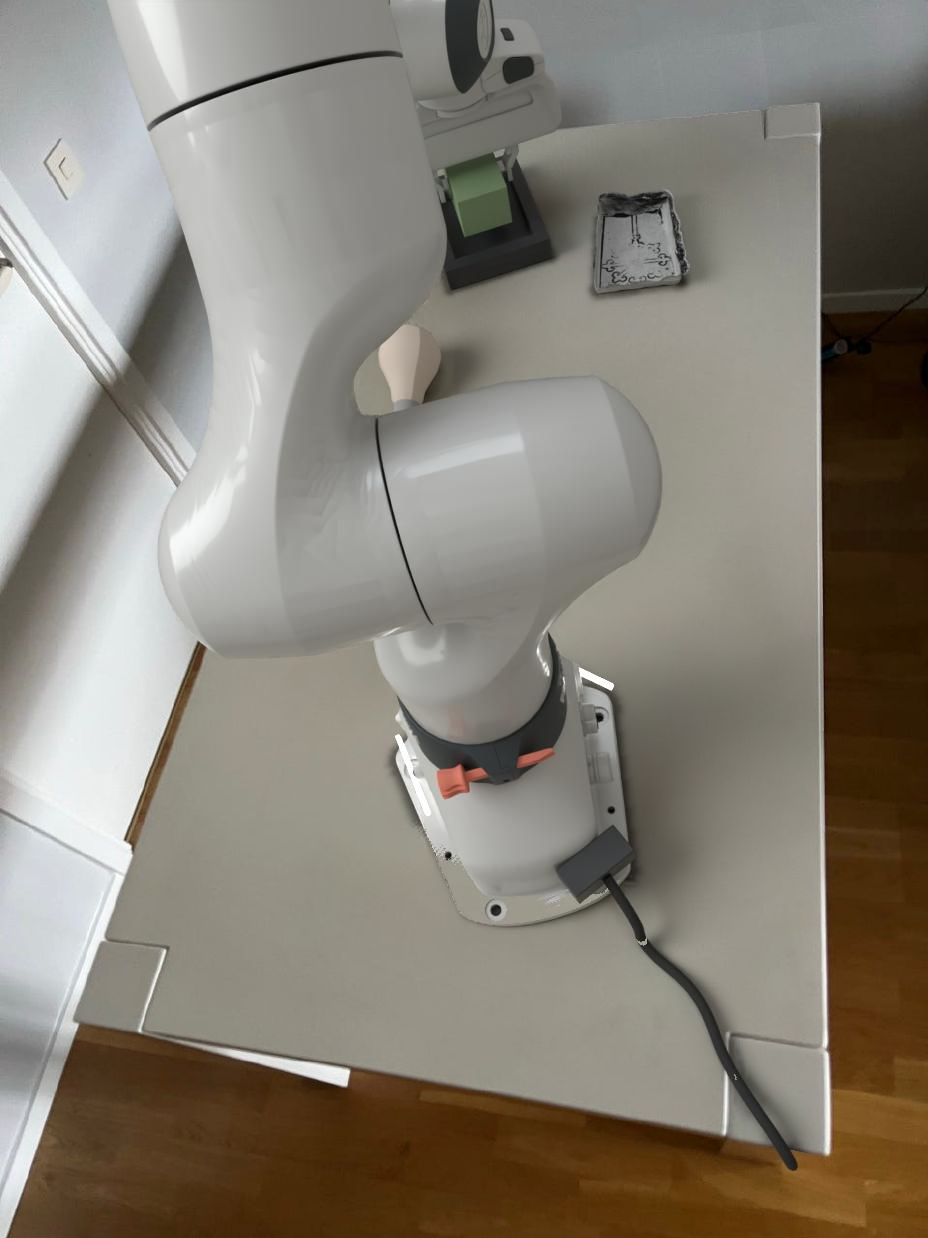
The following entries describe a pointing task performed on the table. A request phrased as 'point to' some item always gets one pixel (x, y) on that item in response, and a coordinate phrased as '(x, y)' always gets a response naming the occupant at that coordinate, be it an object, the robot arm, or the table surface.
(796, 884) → the table surface
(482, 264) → the black square tray
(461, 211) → the green block
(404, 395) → the light bulb
